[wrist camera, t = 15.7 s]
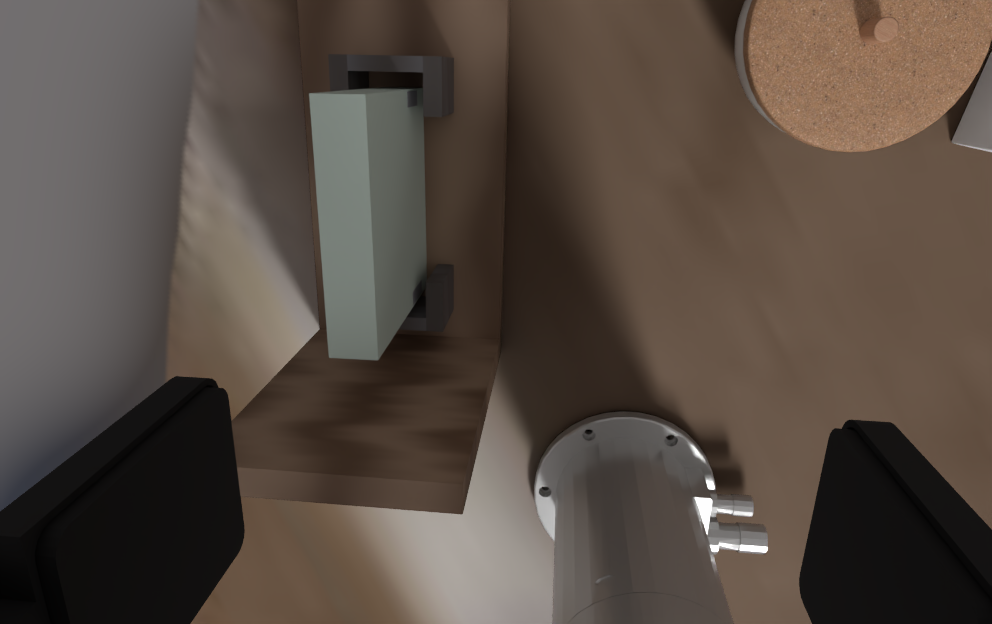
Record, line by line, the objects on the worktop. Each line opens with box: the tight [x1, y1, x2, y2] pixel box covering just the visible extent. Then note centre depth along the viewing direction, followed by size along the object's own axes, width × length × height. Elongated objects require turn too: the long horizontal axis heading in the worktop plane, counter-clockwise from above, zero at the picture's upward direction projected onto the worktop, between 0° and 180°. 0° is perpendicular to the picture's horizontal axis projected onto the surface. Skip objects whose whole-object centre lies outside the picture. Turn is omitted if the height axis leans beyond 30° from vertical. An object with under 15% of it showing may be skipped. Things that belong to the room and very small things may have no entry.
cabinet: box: [231, 0, 510, 514], centre depth 34 cm, size 12×22×18 cm, turn 179°
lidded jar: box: [735, 0, 992, 152], centre depth 34 cm, size 11×11×9 cm
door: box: [309, 87, 427, 360], centre depth 36 cm, size 2×12×12 cm, turn 179°
